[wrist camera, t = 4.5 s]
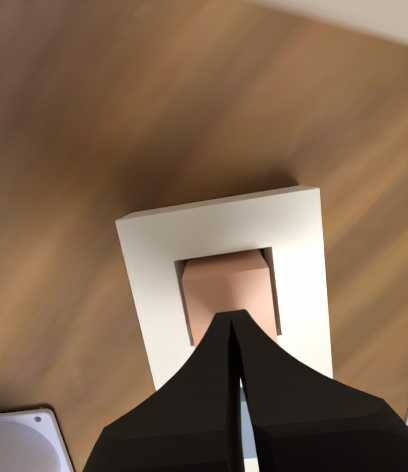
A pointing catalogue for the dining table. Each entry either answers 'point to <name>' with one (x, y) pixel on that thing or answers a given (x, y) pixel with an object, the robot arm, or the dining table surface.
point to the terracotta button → (228, 290)
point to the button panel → (226, 241)
